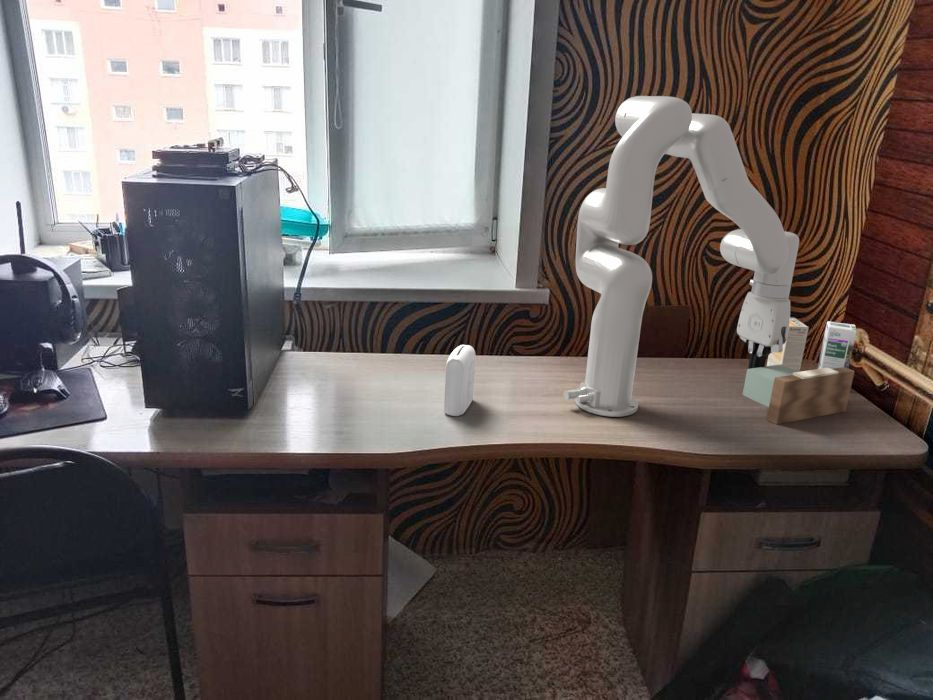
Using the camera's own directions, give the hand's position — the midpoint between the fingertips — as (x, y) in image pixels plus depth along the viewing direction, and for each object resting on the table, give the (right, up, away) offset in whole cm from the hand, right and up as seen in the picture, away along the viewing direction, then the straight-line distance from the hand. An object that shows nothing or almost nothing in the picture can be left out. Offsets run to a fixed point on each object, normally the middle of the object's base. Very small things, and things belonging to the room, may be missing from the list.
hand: (755, 371), depth 163 cm
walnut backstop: (+6, -9, -11) cm, 16 cm away
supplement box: (+11, -1, +12) cm, 16 cm away
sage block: (+4, -6, -5) cm, 9 cm away
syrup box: (+19, -4, +7) cm, 21 cm away
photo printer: (-65, -7, -17) cm, 67 cm away
